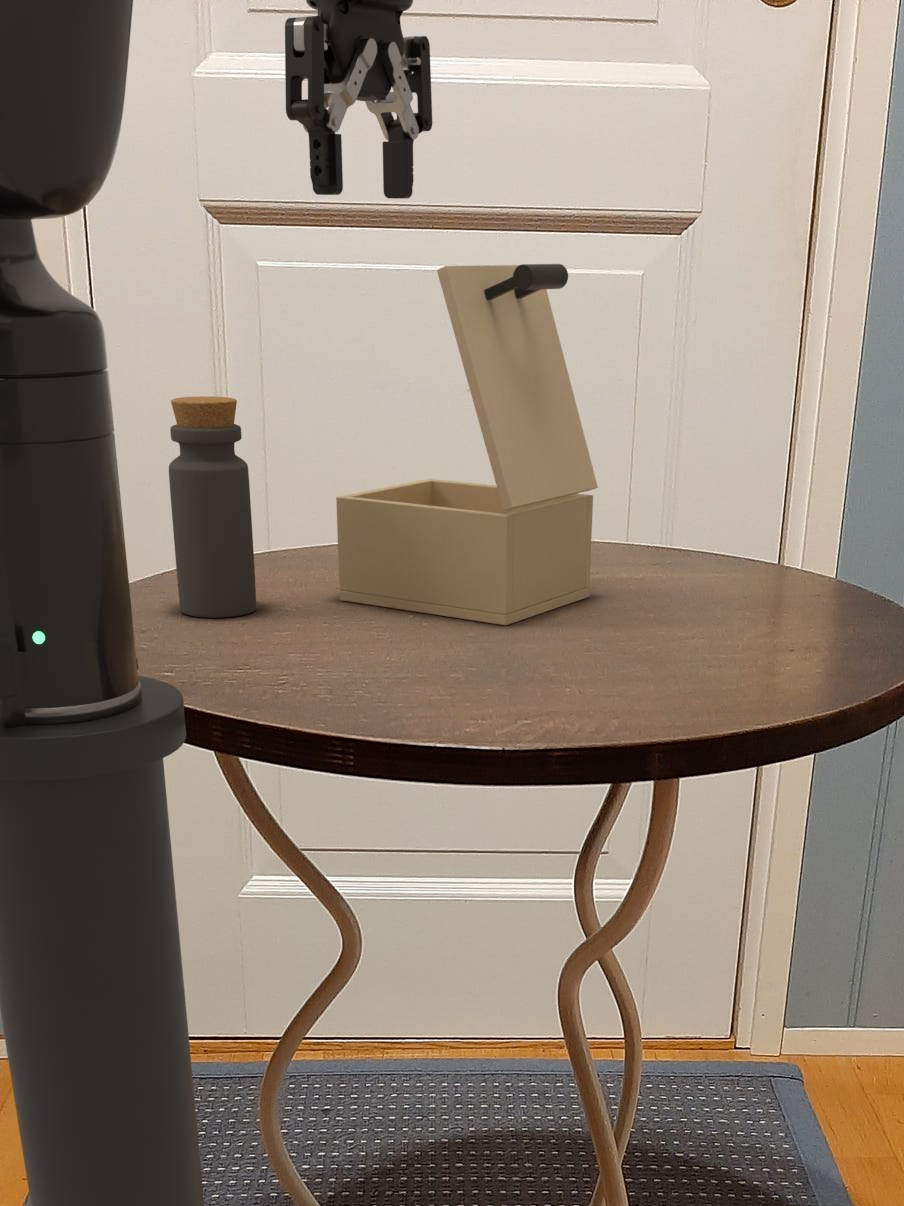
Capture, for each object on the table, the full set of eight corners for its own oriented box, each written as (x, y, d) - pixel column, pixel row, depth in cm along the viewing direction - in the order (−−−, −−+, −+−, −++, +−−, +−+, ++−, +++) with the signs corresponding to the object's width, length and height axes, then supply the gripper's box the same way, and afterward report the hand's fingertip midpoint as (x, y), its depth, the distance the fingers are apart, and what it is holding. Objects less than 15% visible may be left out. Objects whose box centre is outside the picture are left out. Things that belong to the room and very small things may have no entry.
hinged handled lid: (436, 270, 105) (493, 242, 101) (531, 268, 114) (586, 242, 111) (503, 511, 109) (560, 491, 106) (589, 490, 118) (644, 471, 115)
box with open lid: (339, 600, 120) (335, 496, 116) (430, 575, 129) (429, 478, 126) (505, 625, 113) (507, 516, 109) (589, 597, 122) (593, 495, 118)
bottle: (271, 607, 118) (260, 398, 111) (227, 621, 113) (212, 404, 106) (210, 599, 120) (195, 394, 113) (164, 613, 115) (145, 400, 108)
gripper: (336, -98, 97) (345, 193, 104) (461, -63, 107) (460, 199, 115) (247, -86, 100) (261, 194, 108) (375, -54, 111) (380, 199, 118)
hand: (364, 196), depth 111 cm, fingers open, 8 cm apart
